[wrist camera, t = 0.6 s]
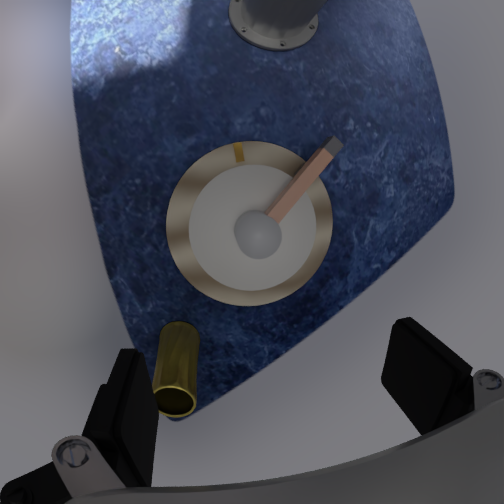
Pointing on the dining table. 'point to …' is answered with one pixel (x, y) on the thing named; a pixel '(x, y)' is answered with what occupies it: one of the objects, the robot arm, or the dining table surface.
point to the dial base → (193, 186)
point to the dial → (257, 222)
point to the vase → (176, 369)
